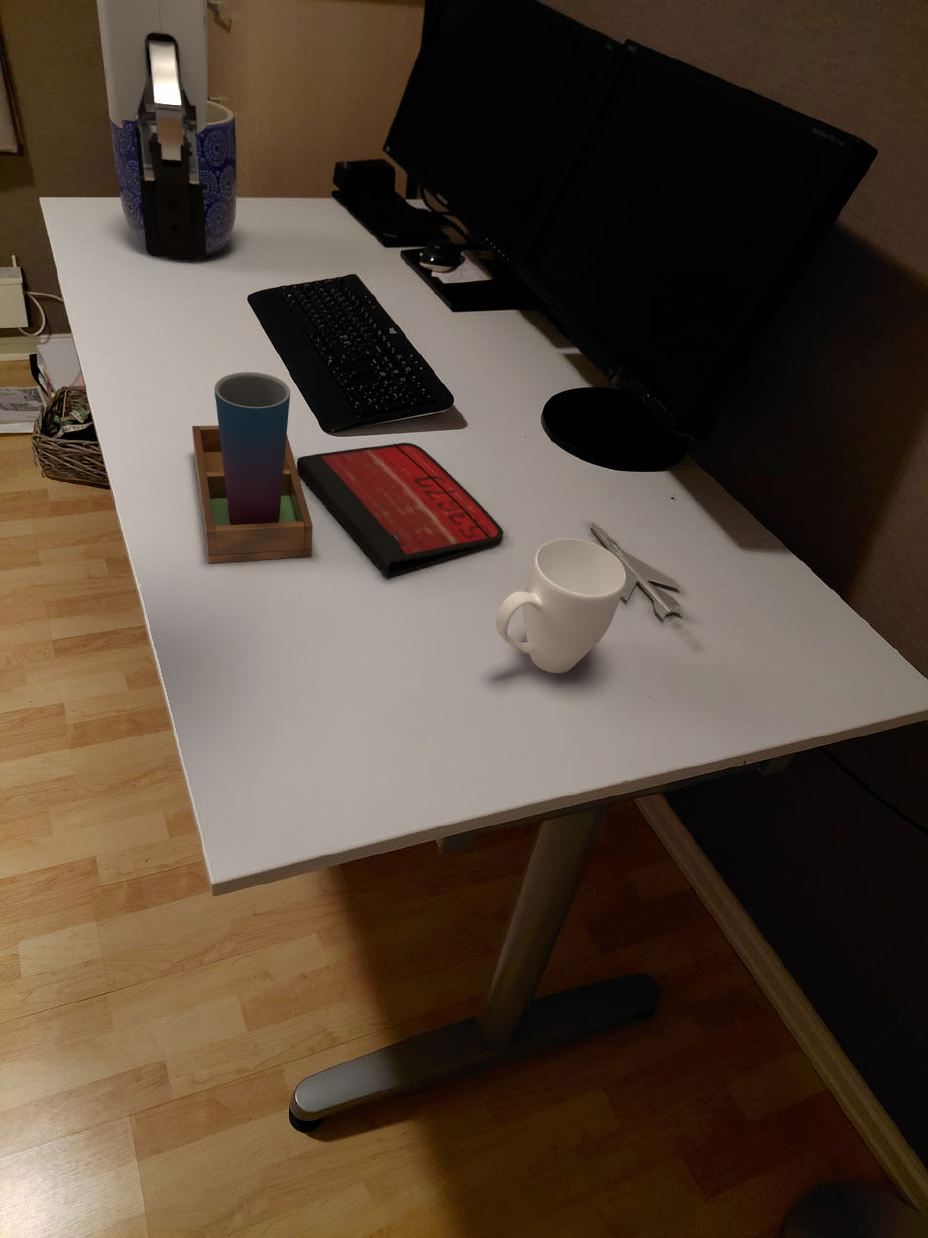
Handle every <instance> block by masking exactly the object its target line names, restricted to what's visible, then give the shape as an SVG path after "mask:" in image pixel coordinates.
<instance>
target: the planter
mask: <svg viewBox="0 0 928 1238" xmlns="http://www.w3.org/2000/svg"><path fill="white" fill-rule="evenodd" d="M109 123H110V133H111V142H112V151H113V152H112V153H113V158H114V166H115V173H116V180H117V186H118V193H119V198H120V203H121V207H122V212H123V215H124V219H125V221H126V223H127V225H128V227H129V229H130V230H131V232H132V234H133V235H134V237H135V238H136V239H137V240H138V242H139V243H141V244H142V245H143V246H144V247H146V242H145V231H144V221H143V210H142V200H141V189H140V179H139V176H140V175H139V165H138V154H137V144H136V133H135V125H138V112H137V116H136V119H135V121H129V120H123V128H122V127H118V126H117V125H116V124H115V123H113V121H112V120H111V119H110V118H109ZM236 132H237V131H236V117H235V114H234V112H233V111H232V110H231V109H230V108H228V107H226V106H225V105H222V104H220V103H218V102H215V101H212V100H208V99H207V126H206V127H205V128H204V129H203V130H202V131H201V132H200V133H198V134H196V133H195V136H196V147H197V158H198V170H199V180H202V181H203V193H204V213H205V234H206V255H205V256H204V257H203V258H205V257H208V256H212V255H214V254H217V253H218V252H219V251H221V250H222V249H223V248H224V247H225V245H226V244H227V243H228V241H229V240H230V238H231V236H232V233H233V230H234V228H235V222H236V215H237V196H238V195H237V193H238V183H237V182H238V179H237V178H238V175H237V174H238V173H237V167H238V166H237V133H236ZM175 258H177V257H175Z"/></svg>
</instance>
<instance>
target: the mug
mask: <svg viewBox="0 0 928 1238" xmlns="http://www.w3.org/2000/svg"><path fill="white" fill-rule="evenodd" d="M625 582H626V573H625V570H624V567H623V565H622V564H621V562H620V561H619V560H618V559H617V557H616V556H614V555H613V554H612V553H611V552H609V550H608V549H607V548H605V547H603V546H601V545H600V544H597V543H595V542H591V541H588V540H585V539H580V538H579V539H578V538H571V537H570V538H558V539H557V538H556V539H554V540H550V541H548V542H546V543H544V544H543V545H541V546H540V547H539V548H538V550H537V551H536V552H535V555H534V557H533V560H532V563H531V567H530V571H529V575H528V578H527V582H526V586H525V591H520V590H517V591H515V592H512V593H510V594H509V595H508V596H506V598H505V599H504V600H503V602H502V603H501V604H500V606H499V608H498V611H497V613H496V617H495V627H496V631H497V633H498V634H499V636H500V637H501V638H502V639H503V641H505V642H506V643H507V644H508V645H510V646H511V647H513V648H515V649H517V650H519V651H521V652H523V653H524V654H529V655H530V658H531V661H532V663H534V665H535V666H536V667H537V668H539V669H540V670H542V671H545V672H546V673H550V674H563V673H567V672H568V671H570V670H572V669H573V667H574V666H576V665H577V664H578V663H579V662H580V661H581V660H582V659H583V658H584V657H585V656H586V655H587V654H589V652H590V651H591V650H592V649H593V648H594V647H595V646H596V645H597V644H598V643H599V642H600V640H601V639H603V637H604V636H605V634H606V633H607V631H608V630H609V627H610V626H611V625H612V622H613V620H614V617H615V614H616V611H617V609H618V606H619V603H620V601H621V598H622V596H621V595H622V593H623V590H624V586H625ZM521 607H522V616H523V625H524V629H525V635H526V641H527V642H526V641H525V642H522V641H519V640H517V639H516V638H513V636H510V635H509V634H508V627H509V623H510V620H511V618H512V616H513V615H514V613H515V612H516V611H517V610H518V609H519V608H521Z"/></svg>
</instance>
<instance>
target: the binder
mask: <svg viewBox="0 0 928 1238" xmlns="http://www.w3.org/2000/svg"><path fill="white" fill-rule="evenodd" d="M296 468H297V472H298V476H300V477H301V478H302V479H303V480H304V482H305V483H306V484H307V486H309V488H310V489H311V491H313V493H314V494H315V495H316V496H317V497H318V499H319V500H320V501H321V502H322V503H323V504H324V506H325V507H326V508H327V510H328V511H329V512H330V513H331V514H332V515H333V516H334V517H335V519H336V520H337V521H338V523H339V524H340V525H341V526H342V527H343V528H344V529H345V531H347V533H348V534H349V535H350V536H351V538H353V540H354V541H355V542H356V543H357V544H358V545H359V547H360V548H361V549H362V550H363V551H364V553H365V554H366V555H367V556H368V557H369V558H370V560H371V561H372V562H373V563H374V564H375V566H377V568H378V569H379V570H380V571H381V572H382V574H383V575H384V576H385V577H386V578H387V579H388V578H391V577H395V576H398V575H402V574H404V573H407V572H409V571H413V570H416V569H418V568H422V567H425V566H428V565H431V564H434V563H438V562H440V561H444V560H447V559H450V558H454V557H457V556H461V555H463V554H467V553H470V552H473V551H476V550H479V549H483V548H485V547H490V546H492V545H495V544H498V543H500V542H501V541H502V540H503V537H504V529H503V528H502V527H501V526H500V524H499V523H498V522H497V521H496V520H495V519H494V518H493V517H492V516H491V515H490V514H489V512H488V511H487V510H486V509H485V508H484V507H483V505H482V504H480V503H479V501H477V499H476V498H474V496H473V495H471V493H470V492H469V491H467V489H465V487H464V486H463V485H462V484H460V482H459V481H458V480H456V479H455V478H454V477H453V475H451V474H450V473H449V472H448V471H447V470H446V468H444V467H443V466H442V465H441V464H440V463H439V462H438V461H437V460H435V458H434V457H433V456H431V454H429V453H428V452H427V451H426V450H425V449H423V448H422V447H420V446H419V445H416V444H414V443H411V442H399V443H393V444H392V443H391V444H384V445H375V446H367V447H360V448H352V449H344V450H337V451H331V452H323V453H322V452H321V453H316V454H315V453H314V454H310V455H304V456H303V455H302V456H299V457H298V458H297V461H296Z"/></svg>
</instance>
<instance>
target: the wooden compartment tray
mask: <svg viewBox="0 0 928 1238" xmlns="http://www.w3.org/2000/svg"><path fill="white" fill-rule="evenodd" d="M191 429H192V441H193V442H192V443H193V444H192V445H193V446H192V447H193V459H194V465H195V473H196V480H197V487H198V496H199V503H200V509H201V510H200V511H201V518H202V525H203V533H204V540H205V547H206V554H207V563H208V564H217V563H219V564H220V563H232V562H249V561H250V562H251V561H262V560H263V561H265V560H279V559H293V558H310V557H312V551H313V550H312V548H313V528H314V527H313V523H312V520H311V515H310V512H309V508H308V504H307V501H306V497H305V494H304V490H303V487H302V484H301V479H300V475H299V473H298V472H297V464H296V461H295V457H294V454H293V451H292V447H291V444H290V439H289V437H288V435H287V437H286V449H285V460H284V472H283V483H282V495H281V506H280V518H279V523H264V524H244V525H231V524H230V520H229V511H228V502H227V494H226V485H225V476H224V468H223V459H222V450H221V442H220V433H219V425H191Z"/></svg>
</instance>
